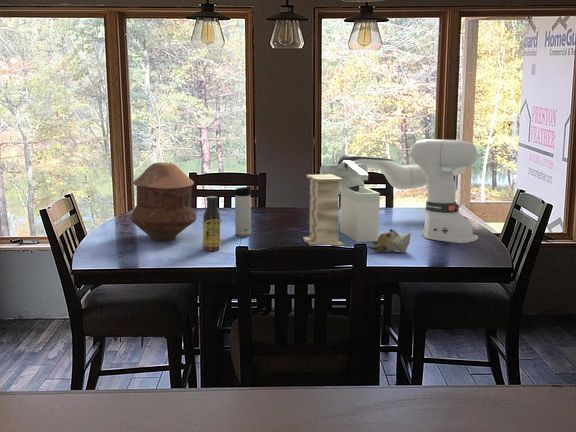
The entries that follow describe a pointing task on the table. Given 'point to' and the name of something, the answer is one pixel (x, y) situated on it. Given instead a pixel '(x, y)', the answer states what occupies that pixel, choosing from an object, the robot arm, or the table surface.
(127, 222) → the table surface
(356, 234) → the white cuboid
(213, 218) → the sauce bottle
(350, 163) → the aluminium bar
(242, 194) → the travel mug
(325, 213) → the birch pedestal
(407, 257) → the table surface
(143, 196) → the pottery vessel
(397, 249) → the ceramic sculpture
